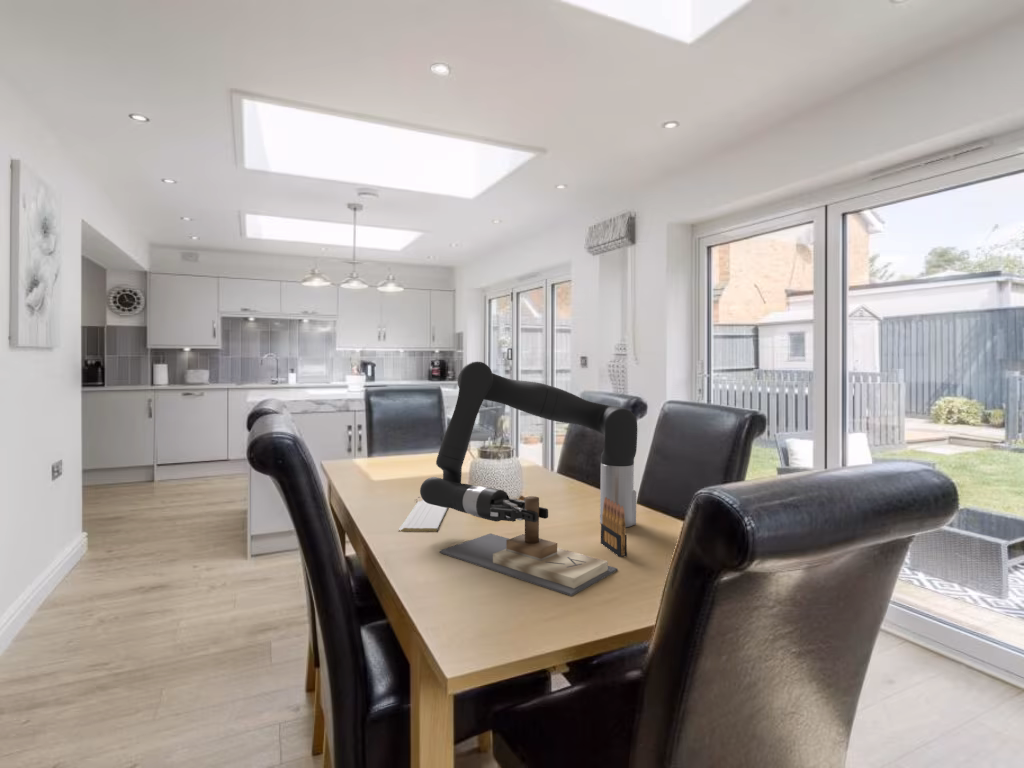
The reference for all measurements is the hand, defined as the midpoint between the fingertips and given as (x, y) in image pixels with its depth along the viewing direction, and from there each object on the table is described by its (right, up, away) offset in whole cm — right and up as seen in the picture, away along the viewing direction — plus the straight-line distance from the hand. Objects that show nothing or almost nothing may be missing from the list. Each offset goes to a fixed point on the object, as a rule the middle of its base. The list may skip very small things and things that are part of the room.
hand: (541, 515), depth 125 cm
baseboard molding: (-33, -11, +41) cm, 54 cm away
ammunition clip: (+18, -11, +12) cm, 25 cm away
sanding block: (-2, -9, +2) cm, 9 cm away
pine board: (+2, -12, -1) cm, 12 cm away
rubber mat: (-4, -11, +4) cm, 12 cm away
